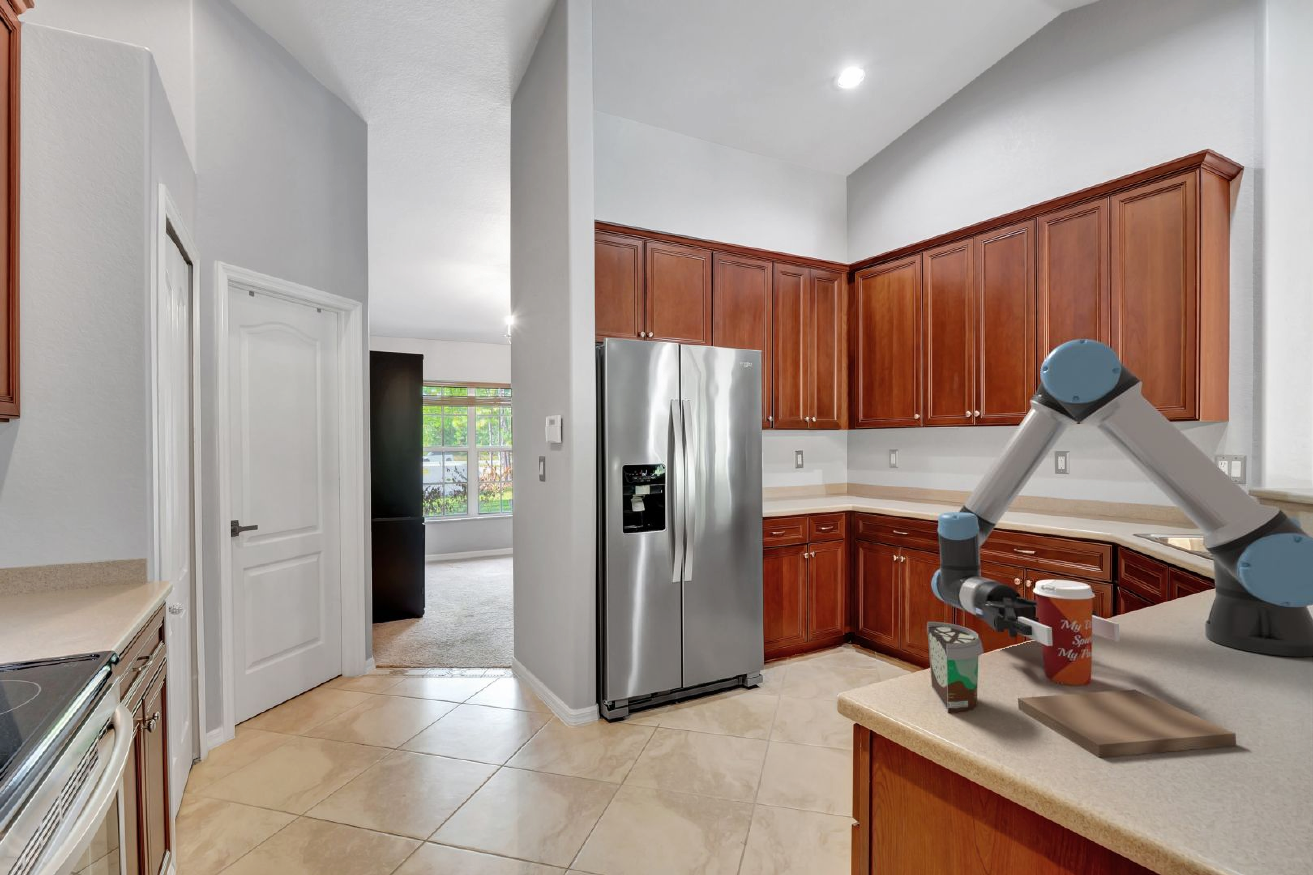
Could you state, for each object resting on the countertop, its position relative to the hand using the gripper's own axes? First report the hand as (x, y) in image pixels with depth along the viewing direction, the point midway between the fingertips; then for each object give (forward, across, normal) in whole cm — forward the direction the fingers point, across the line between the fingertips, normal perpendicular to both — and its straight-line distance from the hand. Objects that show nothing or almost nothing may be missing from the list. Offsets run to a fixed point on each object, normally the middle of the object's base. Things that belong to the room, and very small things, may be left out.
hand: (1083, 634), depth 93 cm
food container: (+1, +21, -8) cm, 23 cm away
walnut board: (+12, +6, -8) cm, 16 cm away
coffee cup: (-4, 0, -8) cm, 9 cm away
